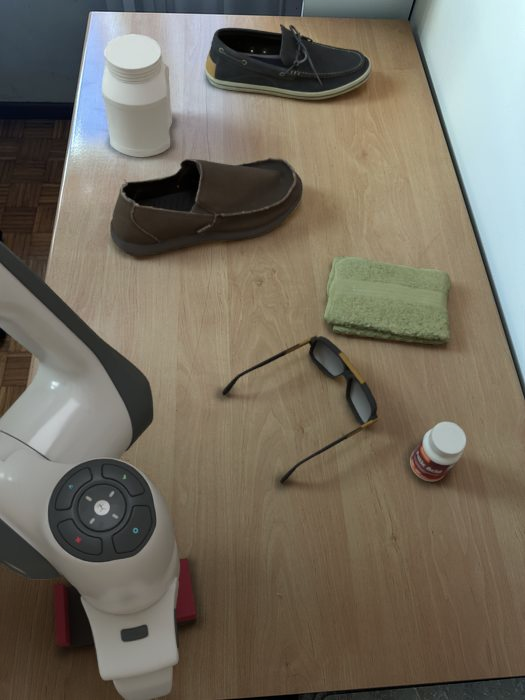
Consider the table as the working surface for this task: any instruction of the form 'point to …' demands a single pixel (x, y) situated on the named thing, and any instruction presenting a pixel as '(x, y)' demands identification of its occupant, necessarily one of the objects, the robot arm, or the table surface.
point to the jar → (137, 96)
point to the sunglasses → (332, 366)
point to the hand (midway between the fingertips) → (143, 596)
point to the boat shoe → (283, 64)
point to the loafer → (204, 205)
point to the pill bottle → (438, 451)
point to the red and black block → (76, 624)
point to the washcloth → (388, 301)
